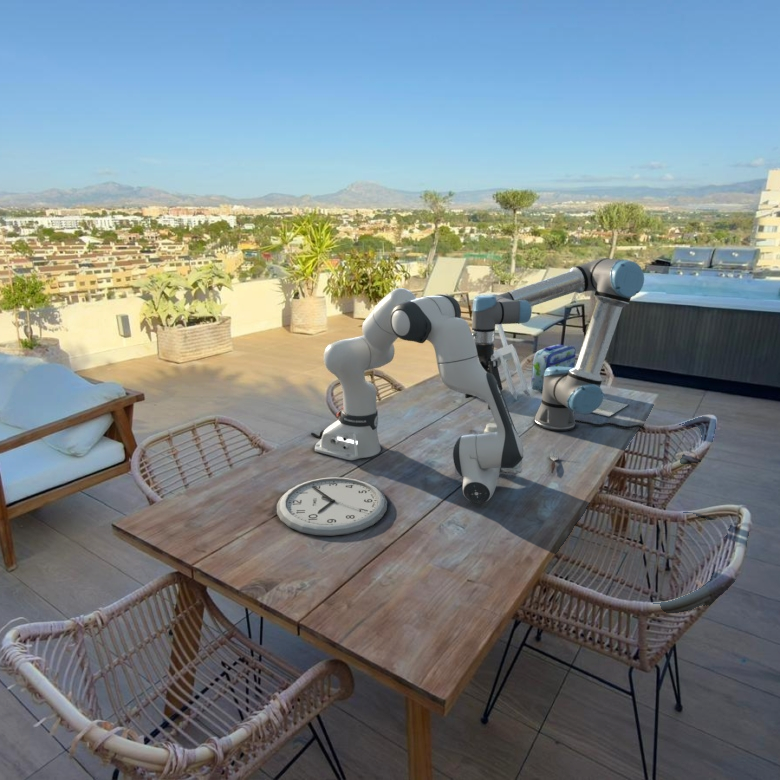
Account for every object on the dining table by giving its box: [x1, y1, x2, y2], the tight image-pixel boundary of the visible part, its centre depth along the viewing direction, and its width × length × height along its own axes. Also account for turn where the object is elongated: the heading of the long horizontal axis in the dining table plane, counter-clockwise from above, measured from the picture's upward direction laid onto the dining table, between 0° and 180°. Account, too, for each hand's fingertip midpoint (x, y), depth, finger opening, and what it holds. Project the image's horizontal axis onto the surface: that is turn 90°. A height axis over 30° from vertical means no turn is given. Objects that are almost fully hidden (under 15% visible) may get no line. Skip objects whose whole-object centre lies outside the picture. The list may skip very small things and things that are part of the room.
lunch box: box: [530, 344, 577, 392], centre depth 247 cm, size 26×11×21 cm, turn 134°
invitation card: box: [591, 398, 629, 418], centre depth 226 cm, size 21×1×15 cm
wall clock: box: [276, 476, 388, 537], centre depth 142 cm, size 30×2×30 cm
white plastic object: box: [488, 324, 531, 400], centre depth 245 cm, size 37×45×31 cm
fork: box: [549, 449, 560, 474], centre depth 170 cm, size 3×16×2 cm, turn 160°
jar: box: [483, 422, 498, 433], centre depth 164 cm, size 5×5×15 cm
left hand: (490, 450), depth 165 cm, fingers open, 5 cm apart
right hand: (480, 403), depth 180 cm, fingers open, 13 cm apart
